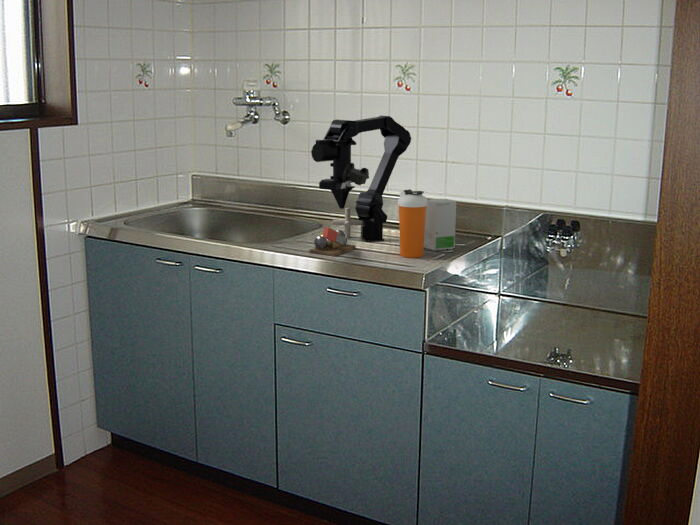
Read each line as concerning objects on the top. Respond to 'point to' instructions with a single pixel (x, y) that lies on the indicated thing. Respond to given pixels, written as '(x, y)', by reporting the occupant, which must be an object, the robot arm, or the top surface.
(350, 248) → the valve stand
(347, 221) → the pipe connector
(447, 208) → the skincare box
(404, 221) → the shaker bottle
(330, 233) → the valve lever
